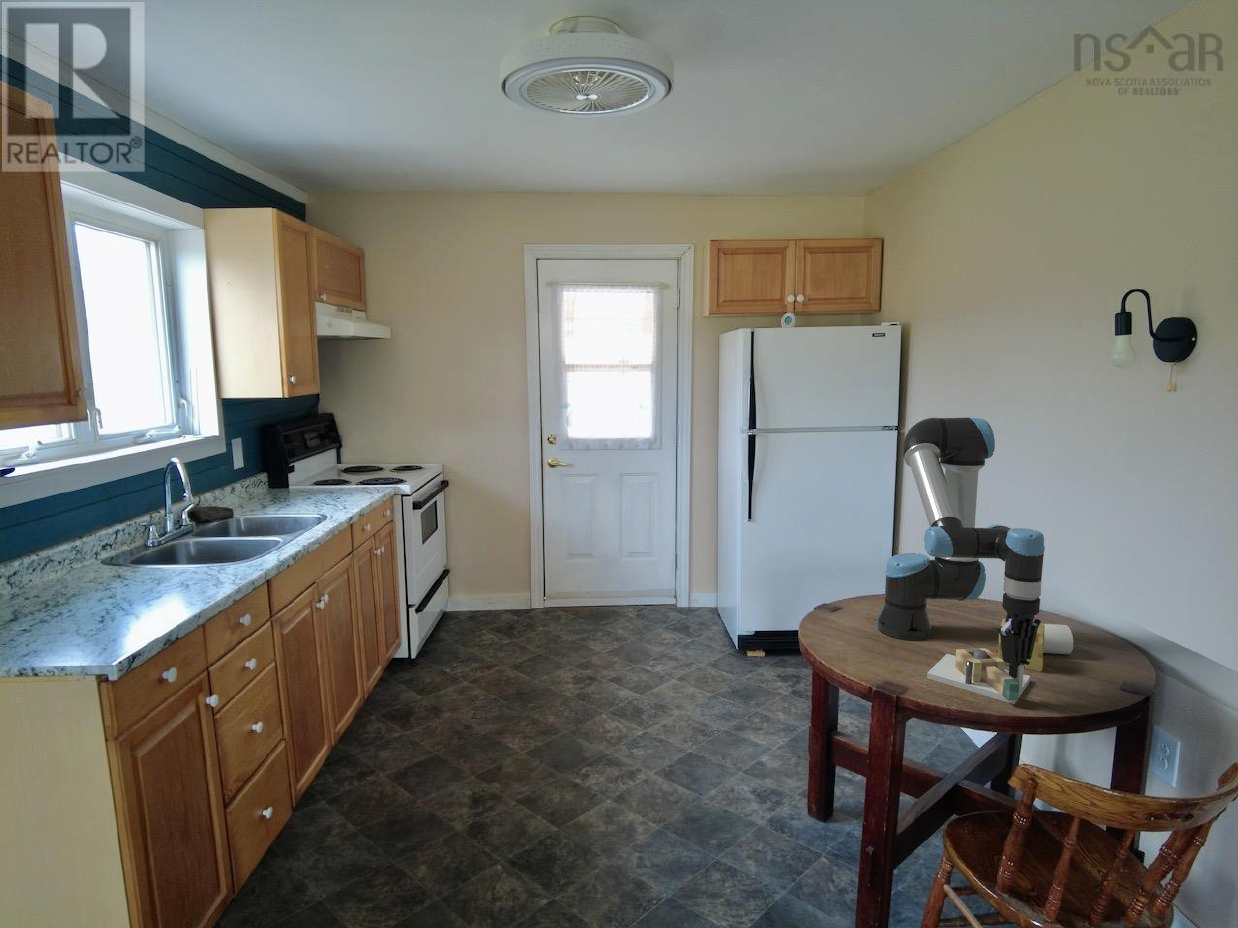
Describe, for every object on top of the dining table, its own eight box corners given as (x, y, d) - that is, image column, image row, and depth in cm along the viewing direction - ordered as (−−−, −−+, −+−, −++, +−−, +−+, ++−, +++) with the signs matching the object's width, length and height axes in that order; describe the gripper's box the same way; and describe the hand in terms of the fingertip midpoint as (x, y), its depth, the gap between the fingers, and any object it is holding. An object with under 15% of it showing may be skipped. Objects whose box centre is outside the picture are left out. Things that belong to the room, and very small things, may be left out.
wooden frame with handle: (954, 667, 175) (956, 649, 175) (984, 666, 176) (985, 648, 175) (997, 700, 158) (998, 680, 157) (1029, 699, 159) (1031, 679, 158)
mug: (1072, 659, 183) (1074, 631, 182) (1032, 656, 185) (1034, 628, 184) (1053, 641, 195) (1056, 615, 194) (1016, 639, 197) (1018, 613, 196)
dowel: (964, 683, 167) (965, 662, 166) (966, 681, 168) (967, 660, 167) (970, 684, 166) (972, 663, 165) (972, 682, 167) (973, 662, 166)
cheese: (1042, 673, 175) (1045, 636, 174) (995, 663, 181) (998, 628, 180) (1042, 658, 184) (1045, 623, 183) (997, 649, 190) (1000, 616, 188)
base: (926, 678, 173) (928, 650, 172) (946, 658, 184) (948, 632, 183) (1014, 704, 159) (1016, 674, 158) (1029, 681, 171) (1032, 653, 169)
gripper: (1022, 585, 164) (1016, 676, 167) (988, 594, 158) (983, 688, 161) (1054, 594, 157) (1047, 688, 161) (1020, 604, 151) (1013, 702, 155)
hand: (1015, 688), depth 161 cm, fingers closed
